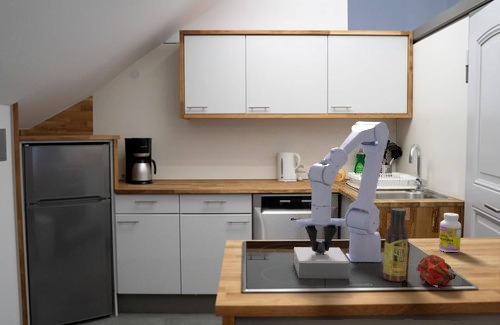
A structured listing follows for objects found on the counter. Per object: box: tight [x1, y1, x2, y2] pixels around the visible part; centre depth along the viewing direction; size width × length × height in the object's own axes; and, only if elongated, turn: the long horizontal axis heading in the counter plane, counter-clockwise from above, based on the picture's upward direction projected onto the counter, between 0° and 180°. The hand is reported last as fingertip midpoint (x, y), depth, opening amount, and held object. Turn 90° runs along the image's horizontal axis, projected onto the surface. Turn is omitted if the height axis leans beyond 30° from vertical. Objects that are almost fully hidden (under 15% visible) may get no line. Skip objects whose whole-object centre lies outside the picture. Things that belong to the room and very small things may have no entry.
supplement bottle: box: [438, 212, 462, 253], centre depth 160 cm, size 7×7×13 cm
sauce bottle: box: [382, 207, 409, 283], centre depth 131 cm, size 6×6×20 cm
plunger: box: [316, 239, 326, 255], centre depth 138 cm, size 11×11×8 cm
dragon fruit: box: [415, 254, 457, 287], centre depth 128 cm, size 8×8×12 cm
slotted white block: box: [293, 246, 350, 280], centre depth 138 cm, size 14×14×5 cm
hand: (320, 250), depth 138 cm, fingers closed on plunger, 3 cm apart
